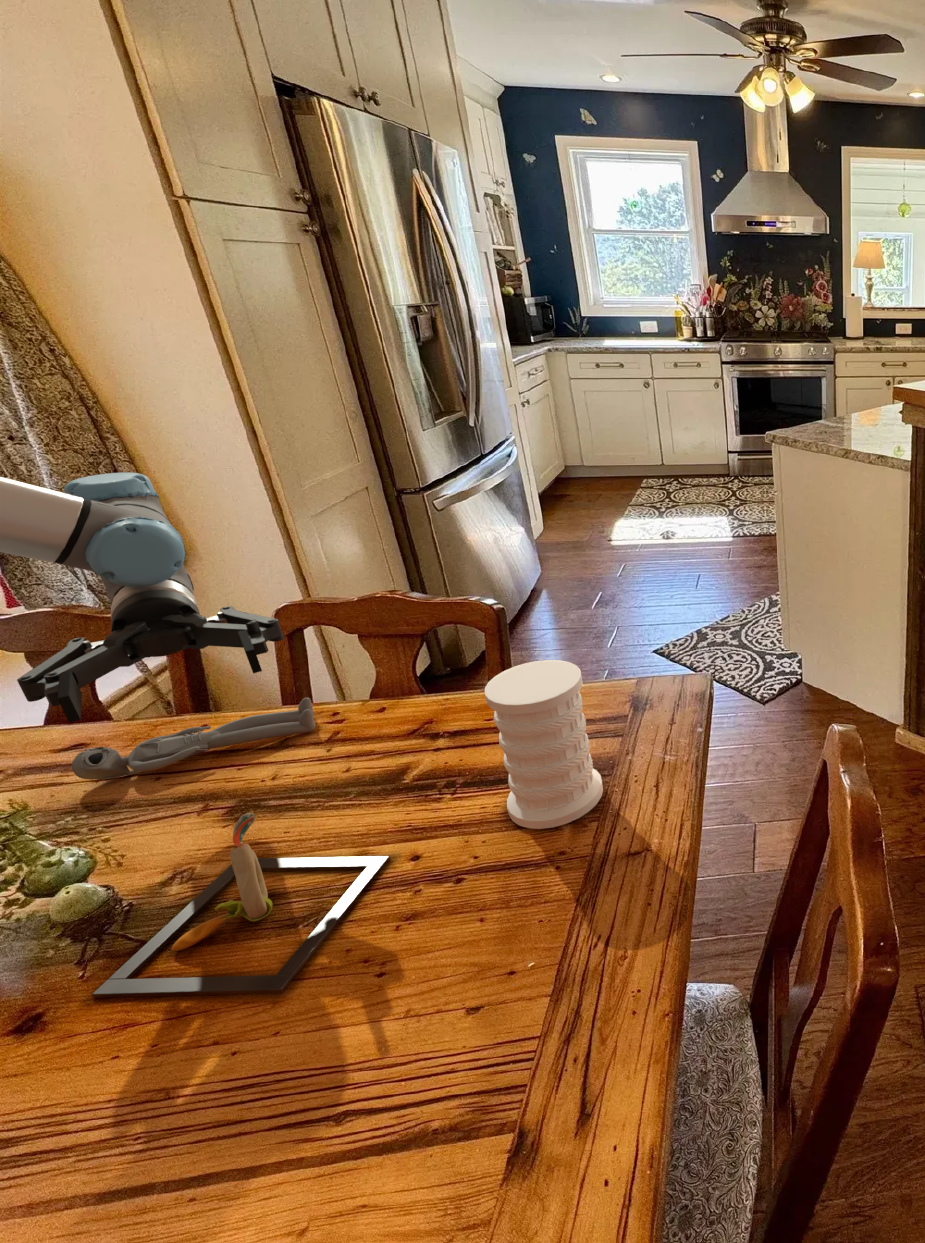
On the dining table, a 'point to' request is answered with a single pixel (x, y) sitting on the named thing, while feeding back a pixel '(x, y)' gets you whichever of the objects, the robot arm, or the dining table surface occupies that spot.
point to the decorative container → (544, 743)
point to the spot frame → (128, 987)
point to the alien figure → (192, 743)
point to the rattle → (248, 885)
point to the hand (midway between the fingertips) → (167, 684)
